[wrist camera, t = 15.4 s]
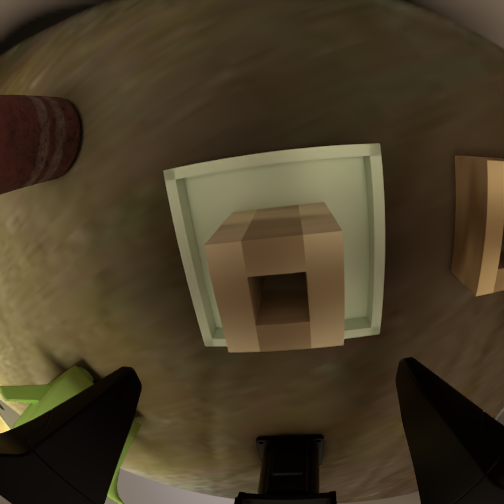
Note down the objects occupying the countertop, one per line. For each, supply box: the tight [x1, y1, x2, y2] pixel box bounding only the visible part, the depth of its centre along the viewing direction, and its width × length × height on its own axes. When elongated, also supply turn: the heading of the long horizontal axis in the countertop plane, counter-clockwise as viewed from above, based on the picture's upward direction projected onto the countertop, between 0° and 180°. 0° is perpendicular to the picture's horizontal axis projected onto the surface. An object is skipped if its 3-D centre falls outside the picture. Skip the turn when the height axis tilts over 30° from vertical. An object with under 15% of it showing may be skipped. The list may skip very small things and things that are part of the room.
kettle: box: [0, 365, 141, 504], centre depth 20 cm, size 15×14×11 cm
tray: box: [163, 143, 385, 346], centre depth 16 cm, size 11×11×2 cm
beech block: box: [204, 202, 345, 353], centre depth 13 cm, size 5×5×6 cm
